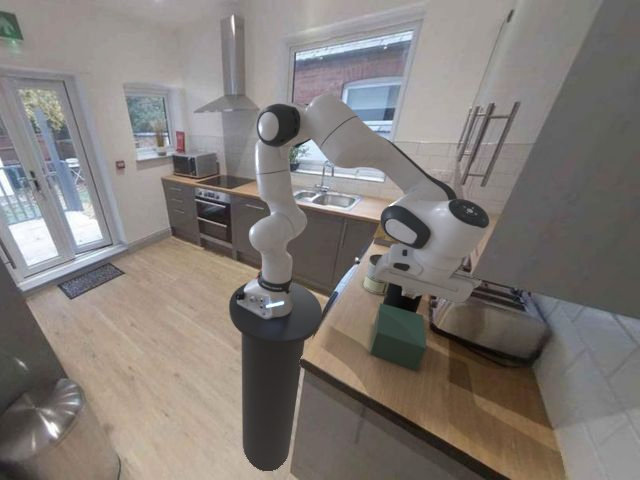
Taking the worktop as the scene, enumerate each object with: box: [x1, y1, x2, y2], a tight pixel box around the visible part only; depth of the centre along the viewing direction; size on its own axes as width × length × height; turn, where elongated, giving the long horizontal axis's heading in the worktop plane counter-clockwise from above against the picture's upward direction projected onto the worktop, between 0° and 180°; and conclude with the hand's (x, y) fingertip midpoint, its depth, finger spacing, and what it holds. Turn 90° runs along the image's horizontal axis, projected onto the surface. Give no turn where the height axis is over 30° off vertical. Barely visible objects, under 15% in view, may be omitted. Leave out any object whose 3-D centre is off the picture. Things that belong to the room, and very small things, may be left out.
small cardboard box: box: [372, 220, 401, 248], centre depth 160 cm, size 35×14×6 cm, turn 146°
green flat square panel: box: [377, 302, 427, 351], centre depth 80 cm, size 14×13×1 cm
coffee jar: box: [382, 283, 423, 313], centre depth 93 cm, size 11×11×18 cm
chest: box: [369, 308, 426, 372], centre depth 82 cm, size 14×13×9 cm
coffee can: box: [362, 253, 389, 295], centre depth 110 cm, size 10×10×14 cm
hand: (407, 295), depth 69 cm, fingers closed
